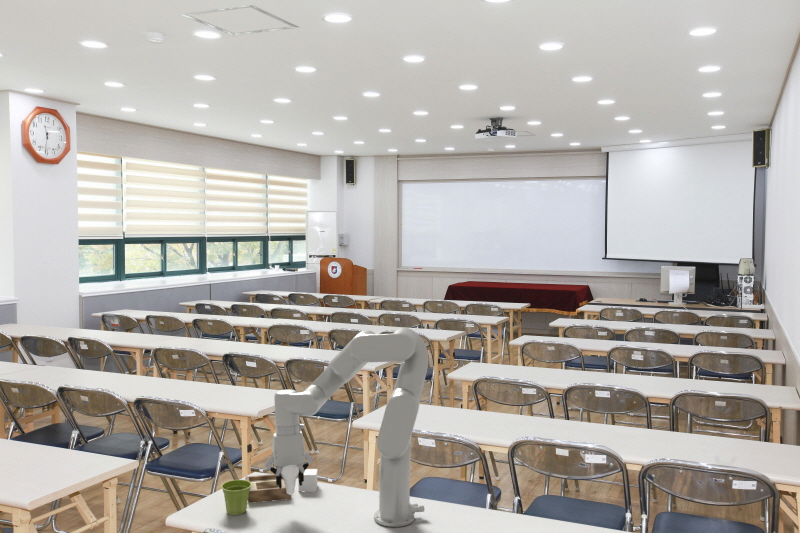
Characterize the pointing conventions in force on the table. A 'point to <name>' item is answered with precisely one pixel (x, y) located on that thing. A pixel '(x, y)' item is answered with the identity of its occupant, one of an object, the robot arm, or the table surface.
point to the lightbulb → (290, 477)
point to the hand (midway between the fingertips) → (290, 485)
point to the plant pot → (236, 496)
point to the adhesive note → (309, 481)
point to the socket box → (266, 489)
